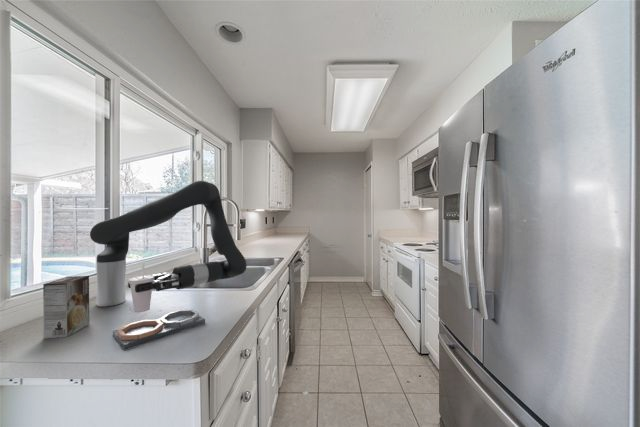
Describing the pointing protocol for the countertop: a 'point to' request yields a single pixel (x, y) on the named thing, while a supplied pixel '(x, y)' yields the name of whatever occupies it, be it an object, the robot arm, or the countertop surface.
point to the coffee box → (65, 306)
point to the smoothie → (141, 298)
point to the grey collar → (182, 322)
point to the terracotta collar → (143, 334)
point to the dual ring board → (160, 334)
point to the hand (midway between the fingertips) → (132, 286)
